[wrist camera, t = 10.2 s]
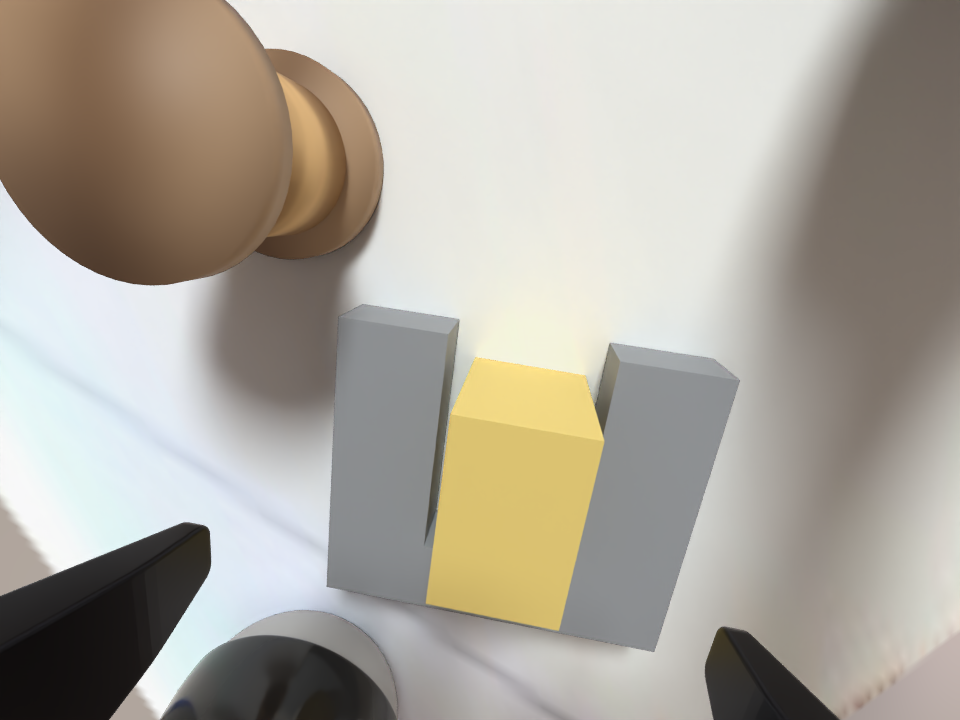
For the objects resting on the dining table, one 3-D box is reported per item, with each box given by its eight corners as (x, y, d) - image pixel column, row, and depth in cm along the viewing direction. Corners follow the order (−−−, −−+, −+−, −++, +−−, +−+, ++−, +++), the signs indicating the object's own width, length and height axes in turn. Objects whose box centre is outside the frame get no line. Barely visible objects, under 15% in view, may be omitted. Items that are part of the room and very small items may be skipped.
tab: (553, 521, 22) (558, 630, 16) (454, 502, 22) (425, 603, 16) (585, 374, 20) (604, 441, 14) (475, 356, 20) (450, 414, 14)
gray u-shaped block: (714, 359, 19) (739, 380, 16) (641, 605, 22) (654, 652, 20) (362, 304, 20) (338, 316, 17) (348, 548, 23) (326, 586, 21)
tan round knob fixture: (390, 69, 17) (270, -47, 9) (377, 269, 19) (270, 305, 11) (202, 47, 17) (-57, -82, 10) (209, 243, 20) (1, 263, 12)
